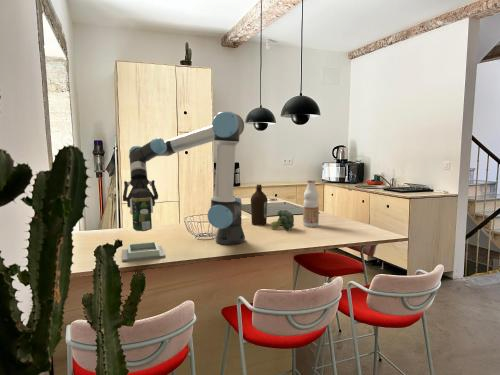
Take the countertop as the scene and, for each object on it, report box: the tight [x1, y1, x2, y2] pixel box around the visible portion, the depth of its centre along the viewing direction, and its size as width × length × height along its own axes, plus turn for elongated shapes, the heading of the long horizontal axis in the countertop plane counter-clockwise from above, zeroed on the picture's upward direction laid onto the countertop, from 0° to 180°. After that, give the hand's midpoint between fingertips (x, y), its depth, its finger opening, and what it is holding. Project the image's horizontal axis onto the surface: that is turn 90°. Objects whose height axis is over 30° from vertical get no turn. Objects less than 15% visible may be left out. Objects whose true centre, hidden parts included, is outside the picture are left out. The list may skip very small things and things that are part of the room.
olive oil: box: [250, 184, 268, 226], centre depth 224 cm, size 11×11×25 cm
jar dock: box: [121, 241, 166, 263], centre depth 162 cm, size 18×16×4 cm
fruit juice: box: [302, 179, 320, 228], centre depth 219 cm, size 9×9×28 cm
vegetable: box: [269, 209, 295, 231], centre depth 210 cm, size 12×13×15 cm
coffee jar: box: [131, 188, 153, 232], centre depth 160 cm, size 10×8×19 cm
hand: (141, 211), depth 157 cm, fingers closed on coffee jar, 8 cm apart
